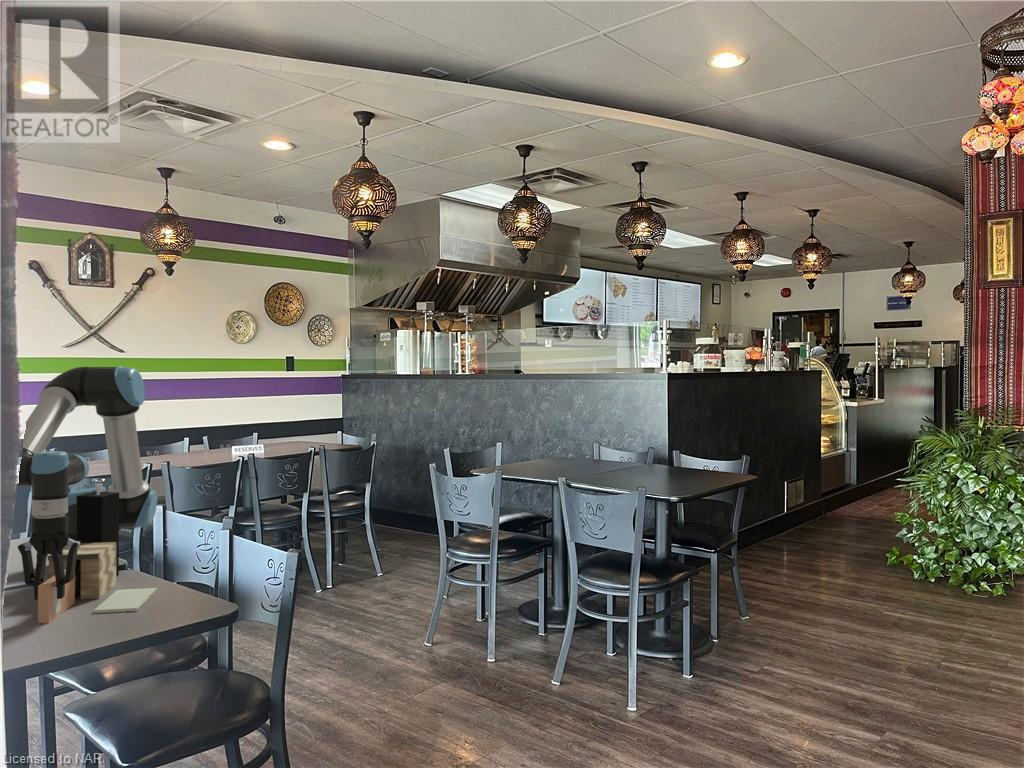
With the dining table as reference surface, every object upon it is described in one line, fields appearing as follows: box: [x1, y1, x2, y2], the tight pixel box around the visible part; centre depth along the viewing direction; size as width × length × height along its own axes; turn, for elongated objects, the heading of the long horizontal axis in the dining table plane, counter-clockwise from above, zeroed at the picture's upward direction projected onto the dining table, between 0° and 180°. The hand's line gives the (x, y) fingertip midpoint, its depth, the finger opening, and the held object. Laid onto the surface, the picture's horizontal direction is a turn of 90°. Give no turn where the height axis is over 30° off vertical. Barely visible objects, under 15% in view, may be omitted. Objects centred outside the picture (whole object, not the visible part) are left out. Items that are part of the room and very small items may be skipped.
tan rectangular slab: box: [37, 569, 76, 624], centre depth 181 cm, size 16×2×9 cm, turn 12°
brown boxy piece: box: [47, 542, 117, 601], centre depth 198 cm, size 15×12×12 cm
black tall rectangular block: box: [77, 482, 120, 577], centre depth 212 cm, size 8×8×28 cm
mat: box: [93, 587, 158, 614], centre depth 191 cm, size 18×10×1 cm, turn 12°
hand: (49, 612), depth 177 cm, fingers closed on tan rectangular slab, 2 cm apart
